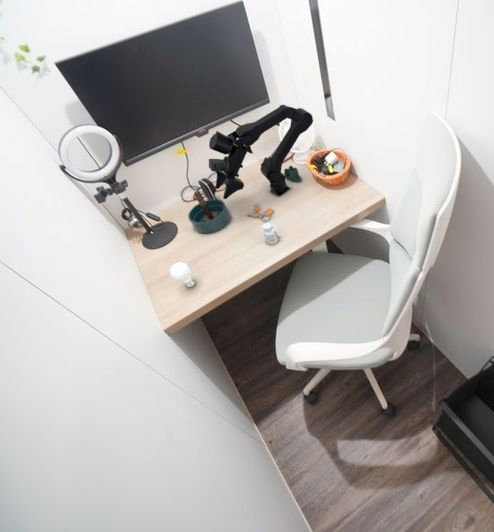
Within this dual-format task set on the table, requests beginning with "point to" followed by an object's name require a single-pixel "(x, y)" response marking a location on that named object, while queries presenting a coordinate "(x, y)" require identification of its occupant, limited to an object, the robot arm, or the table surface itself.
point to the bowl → (212, 225)
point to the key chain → (261, 213)
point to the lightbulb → (182, 273)
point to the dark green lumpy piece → (292, 174)
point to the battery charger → (208, 188)
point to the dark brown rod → (205, 207)
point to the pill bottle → (270, 233)
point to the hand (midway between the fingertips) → (220, 193)
